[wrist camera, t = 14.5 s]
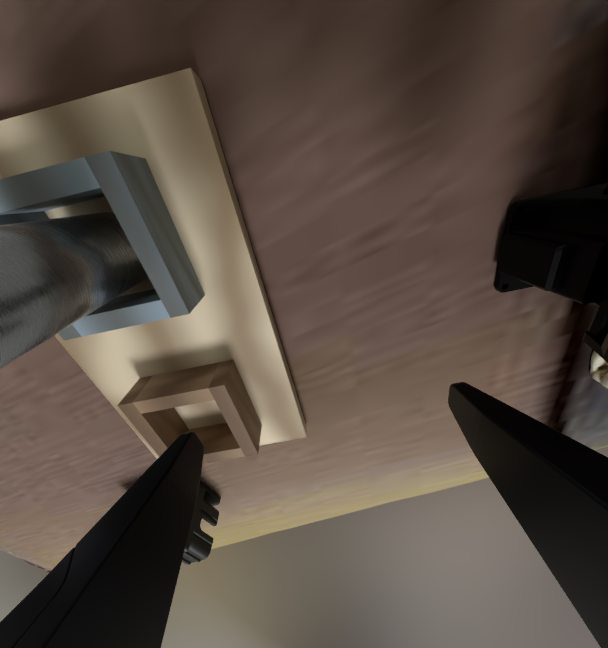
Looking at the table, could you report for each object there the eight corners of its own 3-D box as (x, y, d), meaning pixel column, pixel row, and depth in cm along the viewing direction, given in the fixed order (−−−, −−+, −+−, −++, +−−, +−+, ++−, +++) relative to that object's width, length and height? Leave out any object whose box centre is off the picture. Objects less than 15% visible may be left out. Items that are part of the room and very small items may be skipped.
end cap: (193, 469, 30) (168, 539, 24) (225, 497, 33) (210, 565, 27) (127, 491, 31) (88, 561, 25) (164, 515, 34) (137, 583, 28)
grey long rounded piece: (155, 223, 15) (-99, 288, 5) (156, 289, 17) (-24, 422, 7) (74, 202, 14) (-387, 234, 5) (86, 274, 16) (-215, 399, 7)
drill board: (200, 80, 13) (160, 31, 9) (305, 424, 26) (308, 465, 22) (-64, 152, 14) (-204, 137, 10) (166, 449, 27) (145, 493, 23)
